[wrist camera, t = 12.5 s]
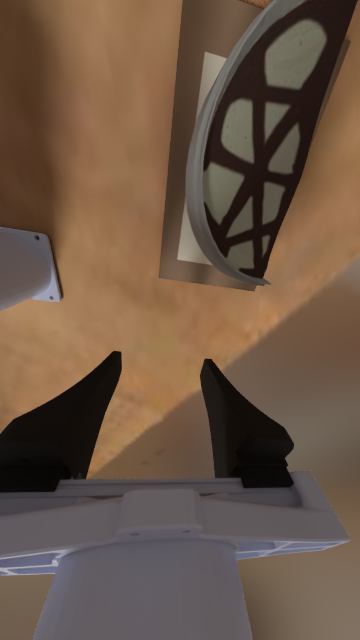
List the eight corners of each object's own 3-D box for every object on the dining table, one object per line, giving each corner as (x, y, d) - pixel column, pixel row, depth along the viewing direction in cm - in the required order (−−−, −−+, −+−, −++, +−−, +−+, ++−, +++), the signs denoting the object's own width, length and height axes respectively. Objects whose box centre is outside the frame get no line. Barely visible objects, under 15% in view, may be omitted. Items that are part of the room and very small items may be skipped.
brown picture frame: (159, 276, 20) (158, 278, 20) (183, -8, 11) (184, -20, 10) (252, 289, 22) (254, 291, 21) (342, 49, 12) (350, 41, 12)
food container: (186, 109, 13) (217, -158, 4) (255, 122, 14) (410, -90, 5) (174, 263, 19) (177, 285, 10) (223, 267, 19) (267, 292, 11)
